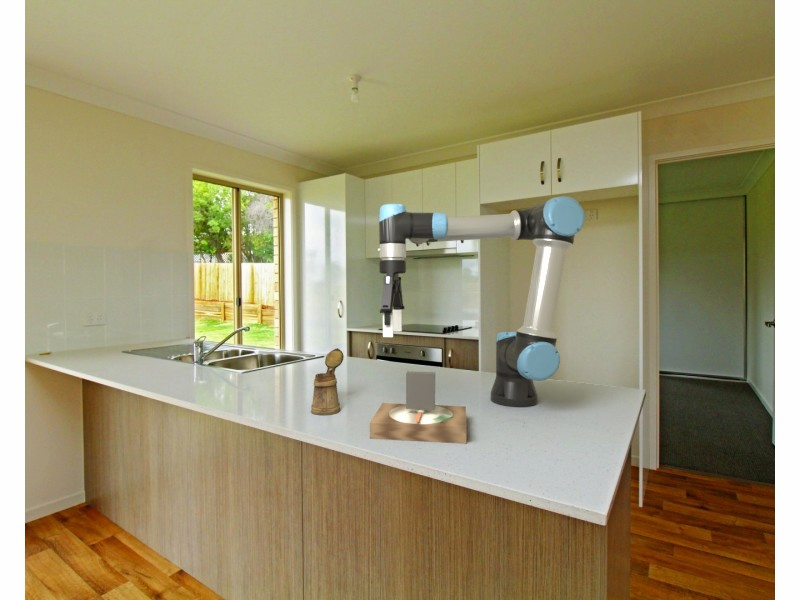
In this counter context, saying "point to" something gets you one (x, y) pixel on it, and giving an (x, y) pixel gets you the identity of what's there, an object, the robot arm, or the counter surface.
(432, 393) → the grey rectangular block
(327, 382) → the wooden mug
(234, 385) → the counter surface
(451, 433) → the board
